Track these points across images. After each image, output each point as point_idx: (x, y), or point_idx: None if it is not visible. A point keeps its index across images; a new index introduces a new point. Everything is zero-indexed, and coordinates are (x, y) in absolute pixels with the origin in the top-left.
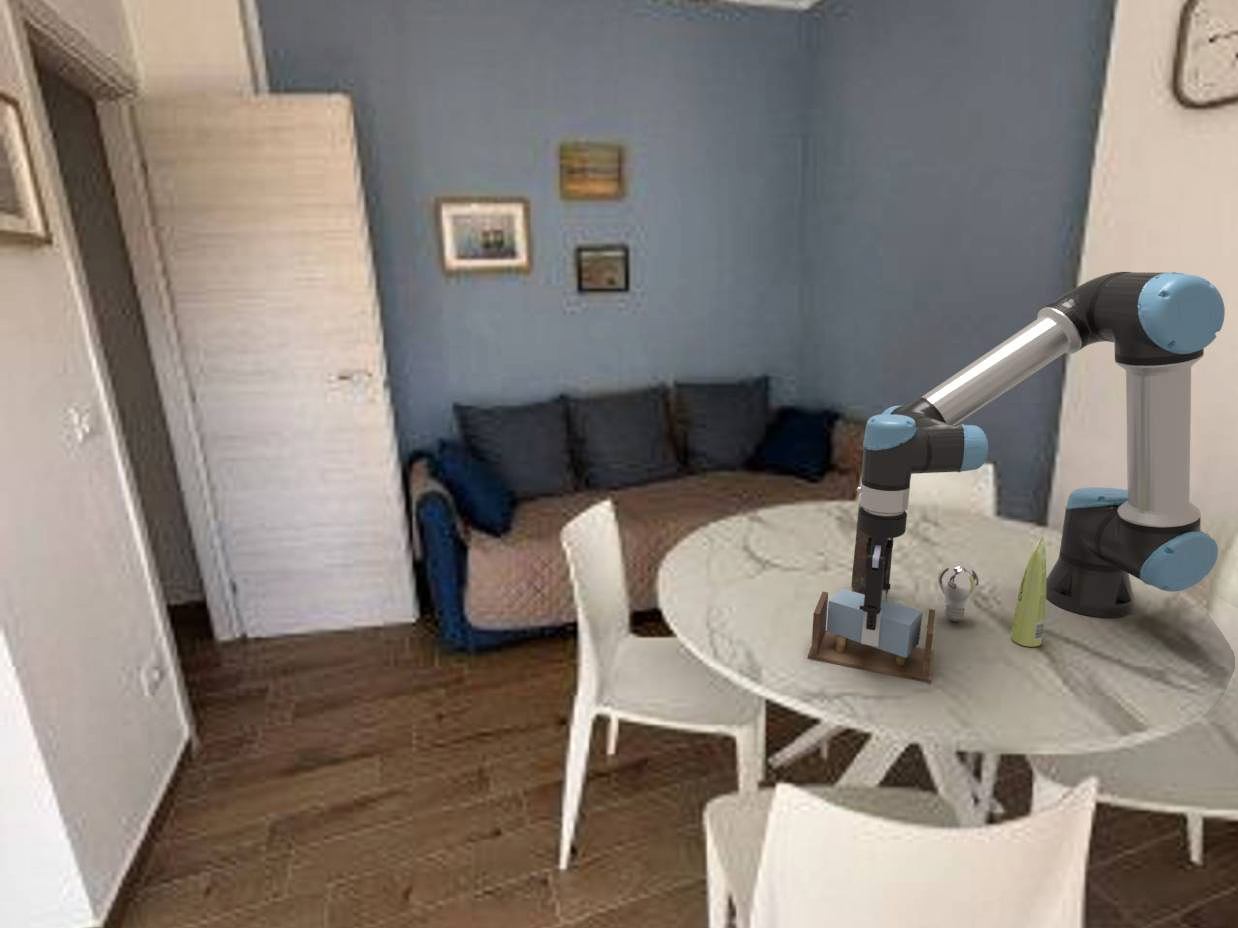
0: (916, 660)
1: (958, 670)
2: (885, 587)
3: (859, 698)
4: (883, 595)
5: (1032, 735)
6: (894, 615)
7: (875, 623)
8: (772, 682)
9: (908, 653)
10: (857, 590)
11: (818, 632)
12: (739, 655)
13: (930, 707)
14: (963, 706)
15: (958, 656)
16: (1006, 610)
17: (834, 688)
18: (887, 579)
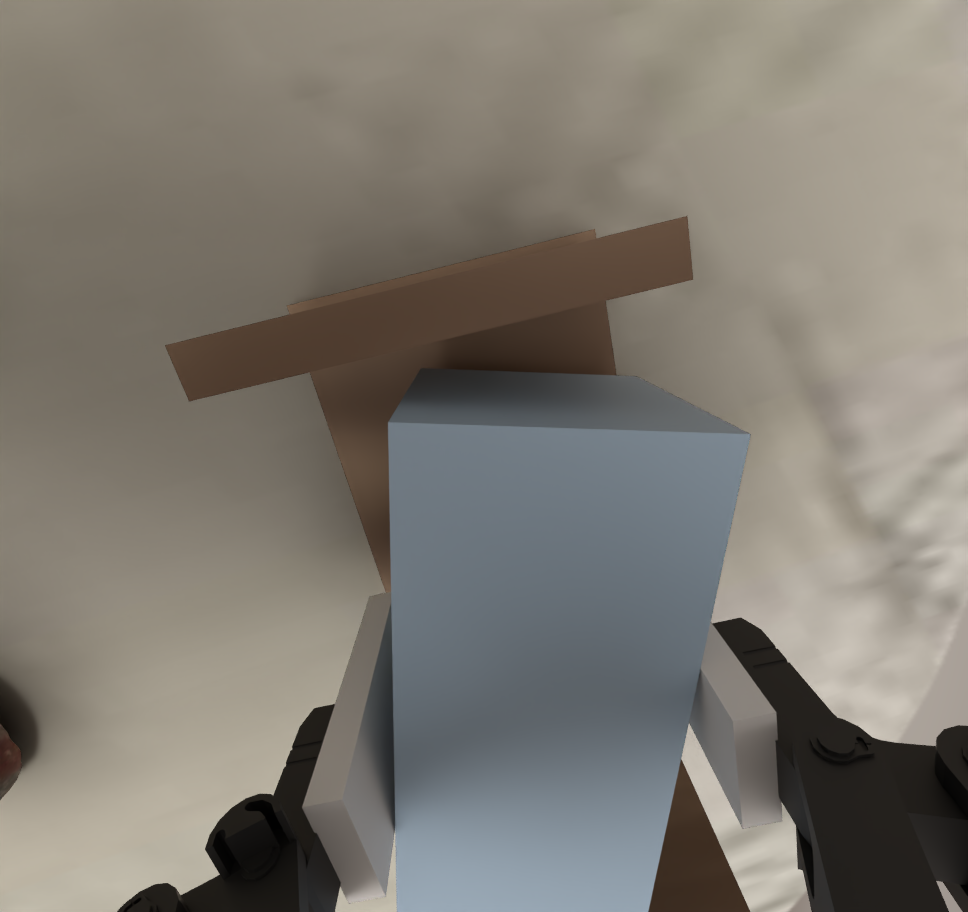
0: (449, 352)
1: (380, 136)
2: (285, 841)
3: (863, 459)
4: (353, 776)
5: None
6: (621, 594)
7: (779, 656)
8: (877, 726)
9: (611, 377)
10: (8, 780)
11: (692, 790)
12: (754, 856)
13: (812, 169)
14: (731, 11)
15: (230, 178)
16: None
17: (829, 558)
18: (150, 906)
